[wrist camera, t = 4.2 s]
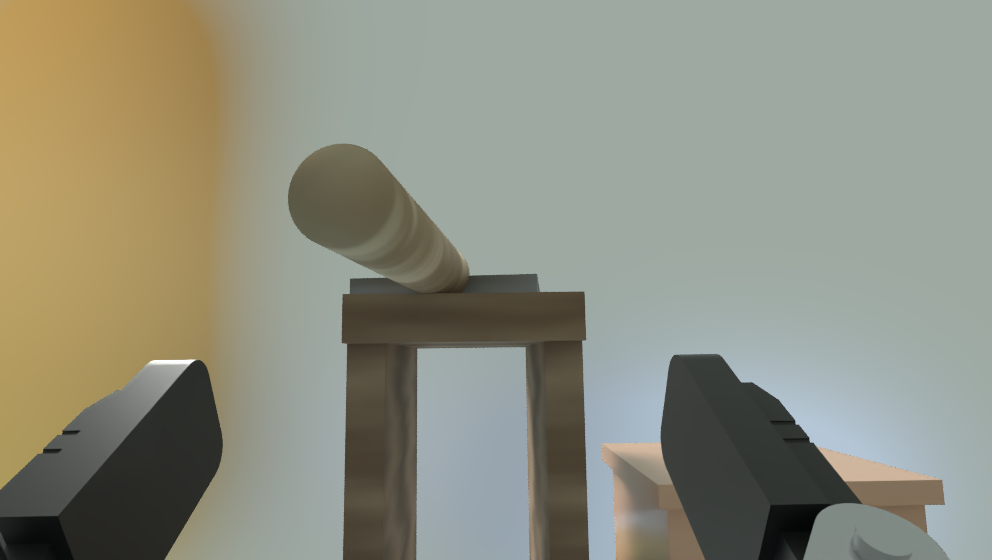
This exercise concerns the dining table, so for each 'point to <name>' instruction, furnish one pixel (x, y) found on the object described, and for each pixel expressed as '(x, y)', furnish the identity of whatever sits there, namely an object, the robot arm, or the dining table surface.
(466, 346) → the plant stand
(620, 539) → the terracotta pedestal
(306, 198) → the trowel
